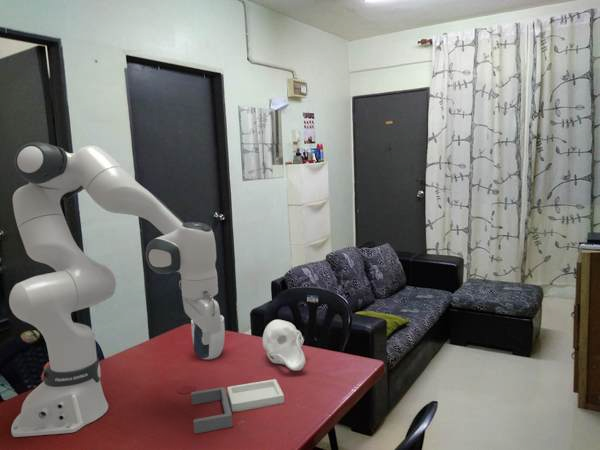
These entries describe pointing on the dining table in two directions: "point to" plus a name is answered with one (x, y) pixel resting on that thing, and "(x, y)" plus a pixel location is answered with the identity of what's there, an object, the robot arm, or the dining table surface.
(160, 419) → the dining table surface
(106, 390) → the dining table surface
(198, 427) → the bay
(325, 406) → the dining table surface
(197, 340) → the vaping device
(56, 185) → the robot arm
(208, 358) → the mug
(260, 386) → the tray
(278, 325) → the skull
